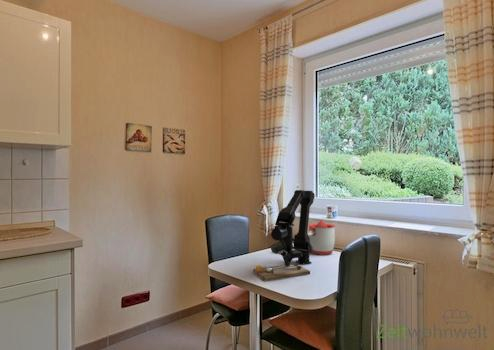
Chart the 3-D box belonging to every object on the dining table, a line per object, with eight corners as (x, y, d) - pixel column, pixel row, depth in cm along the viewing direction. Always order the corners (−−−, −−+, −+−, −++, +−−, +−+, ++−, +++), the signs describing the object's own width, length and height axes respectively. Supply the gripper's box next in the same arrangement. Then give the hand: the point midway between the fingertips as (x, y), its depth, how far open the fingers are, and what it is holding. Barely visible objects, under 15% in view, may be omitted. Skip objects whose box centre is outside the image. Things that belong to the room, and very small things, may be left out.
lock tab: (255, 269, 151) (255, 265, 151) (260, 268, 151) (260, 264, 151) (258, 271, 148) (258, 267, 148) (262, 270, 149) (262, 266, 149)
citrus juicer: (301, 251, 191) (301, 219, 191) (323, 248, 199) (323, 217, 199) (317, 257, 177) (317, 223, 177) (340, 254, 184) (340, 221, 184)
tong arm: (265, 271, 147) (265, 267, 147) (295, 267, 154) (295, 263, 154) (267, 273, 145) (267, 269, 145) (298, 268, 152) (298, 264, 152)
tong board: (252, 272, 152) (252, 265, 152) (294, 266, 161) (294, 260, 161) (265, 281, 139) (265, 274, 139) (310, 274, 148) (310, 267, 148)
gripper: (263, 234, 158) (264, 264, 158) (281, 242, 141) (282, 276, 141) (282, 232, 162) (283, 261, 163) (302, 239, 145) (303, 272, 145)
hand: (287, 267), depth 153 cm, fingers closed
